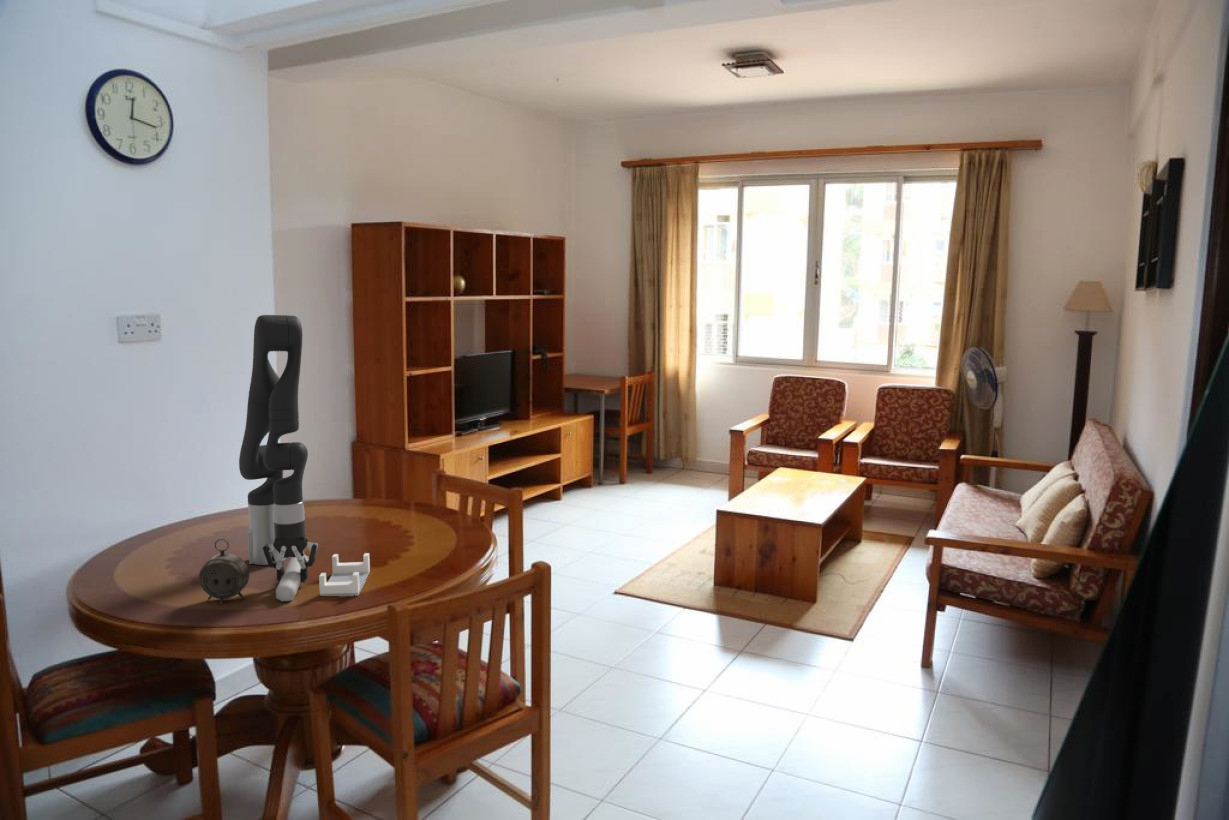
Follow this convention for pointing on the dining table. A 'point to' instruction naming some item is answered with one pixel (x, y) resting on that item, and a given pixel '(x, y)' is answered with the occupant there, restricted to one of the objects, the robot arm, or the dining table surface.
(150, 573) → the dining table surface
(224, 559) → the alarm clock
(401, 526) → the dining table surface
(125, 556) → the dining table surface
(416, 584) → the dining table surface
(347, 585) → the cradle
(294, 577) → the tube
